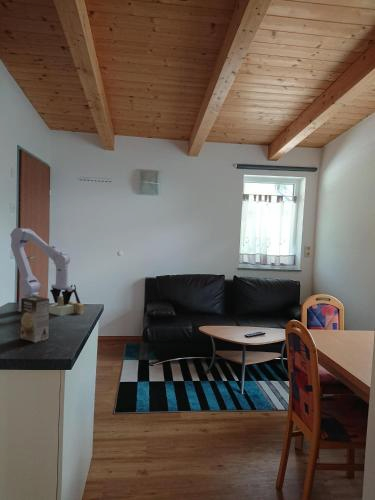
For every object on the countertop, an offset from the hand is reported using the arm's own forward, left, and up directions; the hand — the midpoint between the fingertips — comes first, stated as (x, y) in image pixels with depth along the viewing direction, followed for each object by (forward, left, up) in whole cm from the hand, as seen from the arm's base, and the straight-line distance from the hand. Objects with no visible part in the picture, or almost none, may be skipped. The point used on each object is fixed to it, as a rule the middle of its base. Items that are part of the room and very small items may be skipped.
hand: (61, 303), depth 167 cm
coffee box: (+27, -32, -5) cm, 42 cm away
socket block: (0, 0, -5) cm, 5 cm away
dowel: (0, 0, -4) cm, 4 cm away
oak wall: (0, +5, -5) cm, 7 cm away
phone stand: (-9, +14, -5) cm, 18 cm away
